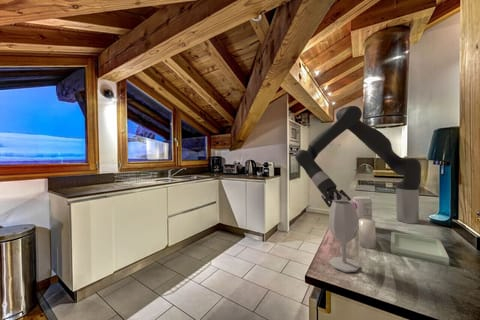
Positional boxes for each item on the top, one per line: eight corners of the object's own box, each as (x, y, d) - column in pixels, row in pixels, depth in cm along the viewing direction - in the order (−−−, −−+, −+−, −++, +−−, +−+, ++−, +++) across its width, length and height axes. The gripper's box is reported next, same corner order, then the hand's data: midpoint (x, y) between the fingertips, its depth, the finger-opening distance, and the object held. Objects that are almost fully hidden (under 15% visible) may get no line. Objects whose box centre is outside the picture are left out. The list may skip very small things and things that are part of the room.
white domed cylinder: (360, 241, 84) (359, 217, 84) (376, 244, 81) (375, 219, 81) (358, 246, 80) (357, 221, 80) (375, 250, 76) (374, 223, 76)
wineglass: (346, 276, 61) (345, 206, 60) (323, 262, 69) (322, 200, 68) (365, 269, 64) (364, 203, 64) (342, 256, 72) (341, 198, 72)
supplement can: (354, 229, 97) (353, 198, 97) (351, 224, 105) (351, 195, 104) (374, 231, 94) (373, 199, 94) (370, 226, 102) (369, 196, 101)
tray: (391, 237, 87) (391, 231, 87) (439, 246, 78) (439, 239, 78) (390, 253, 74) (390, 246, 74) (449, 265, 65) (449, 258, 65)
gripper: (318, 179, 90) (344, 210, 80) (337, 176, 98) (362, 204, 88) (309, 189, 94) (332, 220, 85) (327, 186, 102) (350, 214, 93)
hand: (347, 212), depth 87 cm, fingers open, 8 cm apart
